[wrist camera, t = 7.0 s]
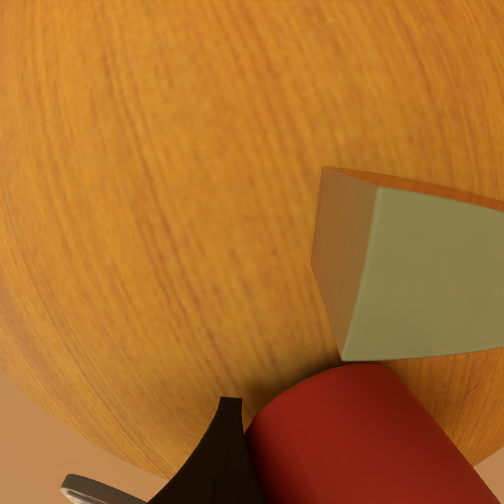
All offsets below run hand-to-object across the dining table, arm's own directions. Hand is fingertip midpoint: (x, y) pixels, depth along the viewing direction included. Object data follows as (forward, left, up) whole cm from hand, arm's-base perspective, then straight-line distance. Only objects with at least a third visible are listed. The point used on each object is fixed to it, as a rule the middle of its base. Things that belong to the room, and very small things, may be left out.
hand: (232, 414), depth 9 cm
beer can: (-1, -3, -1) cm, 4 cm away
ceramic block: (+7, -6, -2) cm, 9 cm away
